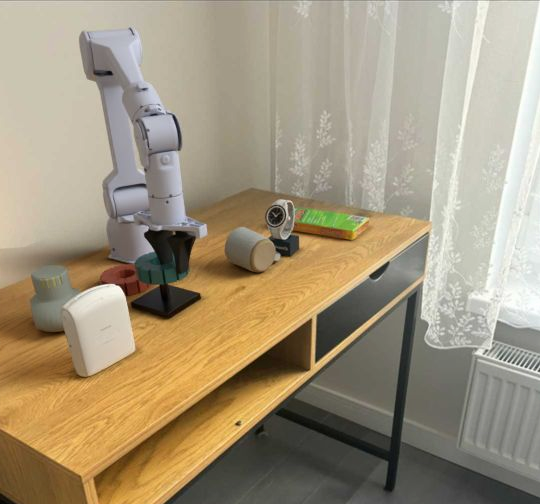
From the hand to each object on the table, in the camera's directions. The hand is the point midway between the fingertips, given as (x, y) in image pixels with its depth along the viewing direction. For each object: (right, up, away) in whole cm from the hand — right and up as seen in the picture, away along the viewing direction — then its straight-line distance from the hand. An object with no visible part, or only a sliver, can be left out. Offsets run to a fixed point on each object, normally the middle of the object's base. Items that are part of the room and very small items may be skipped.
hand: (175, 269), depth 106 cm
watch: (+19, +7, +24) cm, 32 cm away
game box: (+28, +14, +36) cm, 48 cm away
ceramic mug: (+14, +3, +19) cm, 23 cm away
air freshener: (-20, -10, 0) cm, 22 cm away
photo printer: (-9, -16, -11) cm, 21 cm away
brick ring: (-11, -1, +13) cm, 17 cm away
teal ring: (-2, 0, +2) cm, 3 cm away
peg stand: (-2, -5, +5) cm, 8 cm away
